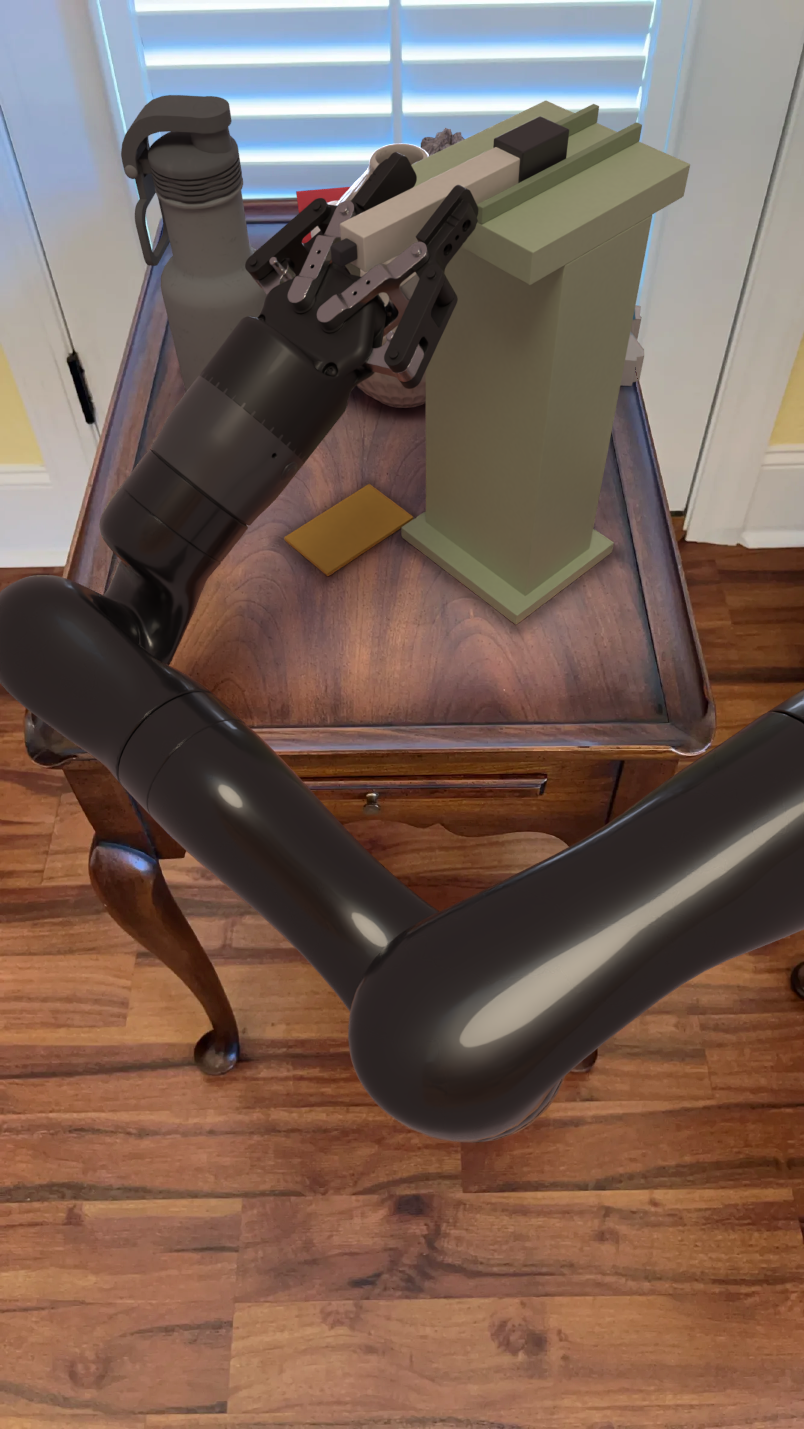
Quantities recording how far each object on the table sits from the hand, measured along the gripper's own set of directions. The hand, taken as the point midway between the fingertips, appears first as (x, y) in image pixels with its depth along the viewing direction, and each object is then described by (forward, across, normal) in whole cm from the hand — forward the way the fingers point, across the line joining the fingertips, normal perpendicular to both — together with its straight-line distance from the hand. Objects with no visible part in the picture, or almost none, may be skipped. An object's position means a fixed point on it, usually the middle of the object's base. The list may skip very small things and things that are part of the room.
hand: (436, 181), depth 55 cm
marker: (0, 0, +3) cm, 3 cm away
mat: (-17, +11, +30) cm, 36 cm away
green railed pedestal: (-10, 0, +34) cm, 35 cm away
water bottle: (-15, +30, +31) cm, 46 cm away
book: (+7, +40, +44) cm, 60 cm away
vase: (-2, +22, +38) cm, 44 cm away
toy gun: (+9, +12, +43) cm, 46 cm away
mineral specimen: (+21, +39, +36) cm, 57 cm away
